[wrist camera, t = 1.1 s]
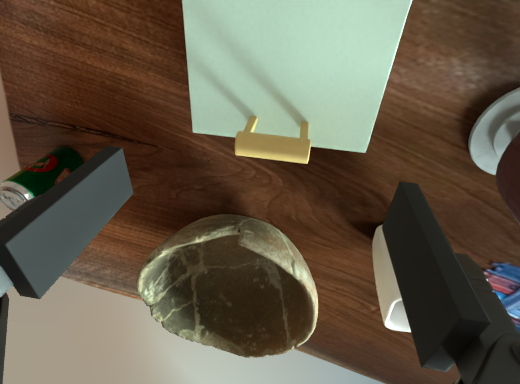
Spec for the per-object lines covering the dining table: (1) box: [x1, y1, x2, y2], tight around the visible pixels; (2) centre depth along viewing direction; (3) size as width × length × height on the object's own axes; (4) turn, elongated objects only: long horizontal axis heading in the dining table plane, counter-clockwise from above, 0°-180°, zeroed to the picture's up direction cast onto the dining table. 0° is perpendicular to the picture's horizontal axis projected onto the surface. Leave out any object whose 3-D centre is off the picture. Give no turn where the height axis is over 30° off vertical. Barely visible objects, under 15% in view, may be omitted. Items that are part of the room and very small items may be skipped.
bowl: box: [136, 214, 318, 358], centre depth 48 cm, size 28×27×15 cm
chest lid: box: [182, 0, 412, 164], centre depth 23 cm, size 15×18×7 cm
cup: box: [372, 224, 411, 332], centre depth 43 cm, size 7×7×15 cm
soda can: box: [0, 146, 83, 211], centre depth 44 cm, size 5×5×12 cm
